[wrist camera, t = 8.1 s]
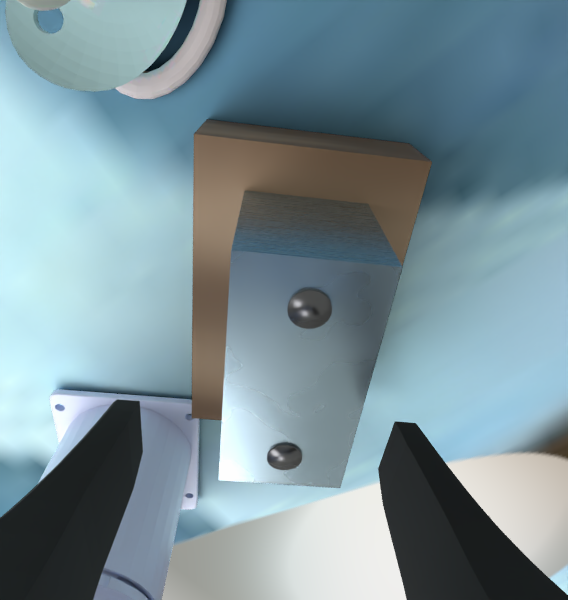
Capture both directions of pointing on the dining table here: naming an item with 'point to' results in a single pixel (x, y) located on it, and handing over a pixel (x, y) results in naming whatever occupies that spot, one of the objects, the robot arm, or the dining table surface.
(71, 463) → the robot arm
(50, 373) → the dining table surface
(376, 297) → the block
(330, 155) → the stand
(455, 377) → the dining table surface
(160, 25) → the pacifier
